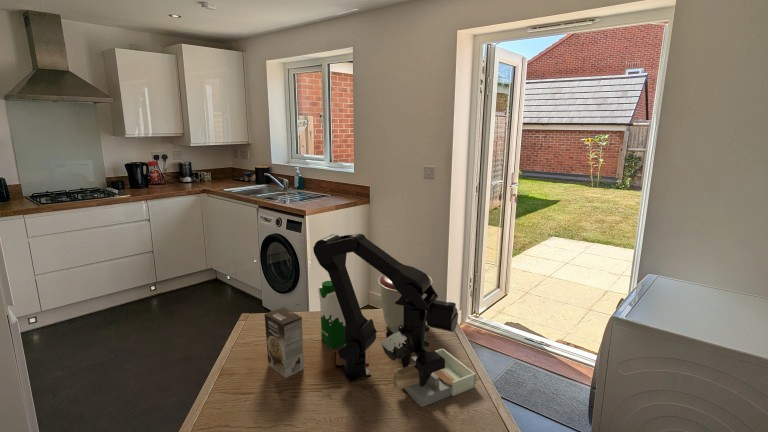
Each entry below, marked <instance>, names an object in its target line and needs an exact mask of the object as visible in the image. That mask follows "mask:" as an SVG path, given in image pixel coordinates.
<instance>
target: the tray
mask: <svg viewBox="0 0 768 432" xmlns="http://www.w3.org/2000/svg"><path fill="white" fill-rule="evenodd" d="M434 351H435V352H437V353H438V354H439V355H440V356H442V357H443V358H444V359H445V368H444V369H443V370H444V371H446V373H448V374H449V375H451V376H452V377H453V378H454V379H455V381H452V385H450V386H451V397H454V396H457V395H460V394H463V393H464V392H467V391H469V390H472V389H475V388H476V373H475V372H474V371H472V370H471V369H470V368H469V367H468V366H466V365H465V364H464V363H462V362H461V361H460V360H459V359H457V358H456V357H454V356H453V354H451V353H450V352H448V351H447V350H446V349H444V348H440V349H437V350H434Z"/></svg>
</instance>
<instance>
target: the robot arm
mask: <svg viewBox="0 0 768 432" xmlns="http://www.w3.org/2000/svg"><path fill="white" fill-rule="evenodd" d="M312 248H313V253H314V256H315V258H316V260H317V262H318V264H319V265H320V266H321V267H322V269H324V270H325V271H326V272H327V274H328V276H329V279H330V281H331V282H332V285H333V288H334V291H335V294H336V297H337V299H338V302H339V305H340V308H341V311H342V314H343V317H344V320H345V333H344V336H345V341H346V344H345V345H343V346H341V348H339V349H338V350H337V353H338V358H339V359H342V360H343V361H344V366H342V367H341V368H340V372H341V373H342V374H343V375H344V377H345V378H346V379H347V381H348V382H354V381H357V380H359V379H360V380H361V379H362V378H366V377H369V376H371V375H372V374H371V371H370V370H369V369H368V368H367V365H366V362H367V360H366V359H367V357H366V354H367V353H366V351H367V350H369V348H370V347H371V346H372V345H373V344H374V343H375V342H376V339H377V333H378V331H377V329H376V327H375V325H374V324H375V323H374V320H373V319H372V318H371V319H367V318H366V317H365V316H364V315H363V313H362V310H361V307H360V304H359V301H358V298H357V295H356V292H355V290H354V286H353V283H352V281H351V277H350V275H349V273H348V269H347V265H346V264H347V255H348V253H354V254H355V255H356V256H358V257H359V258H361V259H362V260H363V261H364V262H366V263H367V264H368V265H370V266H371V267H372V268H374V269H375V270H377V271H378V272H379V273H380V274H382V275H385V276H386V277H387V278H389V279H390V281H391V282H392V283H393V285H394V287H395V289H396V290H397V291H398V292H399V293H400V294H401V297H400V298H399V299H398V300H397V301H395V304H397V305H402V306H403V324H400V326H399V327H395V328H392V329H390V328H388V330H387V332H386V338H385V339H383V340H382V341H381V342H380V344H381V346H382V349H383V351H384V354H385V355H386V356H387V357H388V358H389V359H390V360H391V361H396V360H399V361H400V364H401V368H404V367H407V366H409V365H410V363H411V357H412V353H414V354H415V355H416V357H417V359H416V365H415V366H414V367H415V368H416V369H417V370H418V371H419V383H420V386H421V387H423V386H424V385H425V384H426V382H427V380H428V379H429V377H430V375H431V374H432V373H433V372H435V371H438V370H441V369H444V368H445V359H444V358H443V357H442V356H440V355H439V354H438V353H437V352H435V351H436V350H431V351H428V350H427V349H425V348H427V347H429V346H430V342H429V341H428V340H427V338H426V337H427V332H430V328H433V329H437V330H441V331H445V332H451V333H454V332H455V331H456V328H457V325H458V321H459V312H458V309H457V304H456V302H451V301H443V300H438V298H439V295H438V294H437V292H436V291H435V289H434V287H433V285H432V286H431V284H430V281H429V277H428V276H429V275H428V276H427V274H426V272H424V271H422V270H421V269H418V268H416V267H414V266H410V265H407V264H403V263H402V262H400V261H398V260H397V259H396V258H394V257H393V256H392V255H390V254H389V253H387V252H386V251H385V250H383V249H382V248H380V247H379V246H378V245H376V244H375V243H373V242H372V241H371V240H369V239H368V238H367V237H366V236H365V234H364V233H360V232H359V233H355V234H345V235H339V234H335V233H334V234H332V233H331V234H330V235H327V236H325V237H324V238H321V239H318V240H317V241H316V242H315V243H314V245H313V247H312ZM424 293H425V294H426V295H427V296H426V297H425V298H424V299H423V298H422V296H423V294H424ZM426 310H427V311H426Z"/></svg>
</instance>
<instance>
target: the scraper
mask: <svg viewBox="0 0 768 432" xmlns="http://www.w3.org/2000/svg"><path fill="white" fill-rule="evenodd" d="M417 357H418V356H417V355H416V356H415V355H414V356H411V357H410V363H411V364H409V365H410V366H409V365H408V366H407V367H404V368H403V367H401V369H400V368H397V369H398V370H397V369H395V371H394V370H393V385H394V386H395V388H396V389H397V390H398V391H400V390H404V388H406V387H409V386H412V385H414V384H417V383H419V371H418V370H417V369H416V368H415V367H414V366H415V365H416V359H417ZM427 383H428V384H430V385H431V386H432V387H433V388H434V389H435V390H436V389H439V377H438V376H437V375H436V374H435V373H432V374H431V375H430V377H429V379H428V380H427Z"/></svg>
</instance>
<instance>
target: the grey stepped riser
mask: <svg viewBox="0 0 768 432" xmlns="http://www.w3.org/2000/svg"><path fill="white" fill-rule="evenodd" d="M410 365H411V364H409V365H408V366H410ZM401 368H402V367H401ZM401 368H397V369H395V370H398V369H401ZM395 370H393V372H394V371H395ZM433 373H435V372H433ZM403 390H404V391H406V393H407V394H408V395H409V396H410V397H411V398H412V399H413V400H414V401H415V402H416V403H417V404H418V406H419V407H420V408H424V407H426V406H428V405H431V404H434V403H435V402H438V401H441V400H443V399H446V398H448V397H450V396H451V397H452V395H451V386H450V385H449V384H447V383H445V382H444V381H443V380H442V379H441V378H440V377H439V389H436V390H435V389H434V388H433V387H432V386H431V385H430V384H428V383H427V382H426V384H425V385H424V386H423V387H421V386H420V383H417V384H414V385H412V386H409V387H406V388H403Z"/></svg>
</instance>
